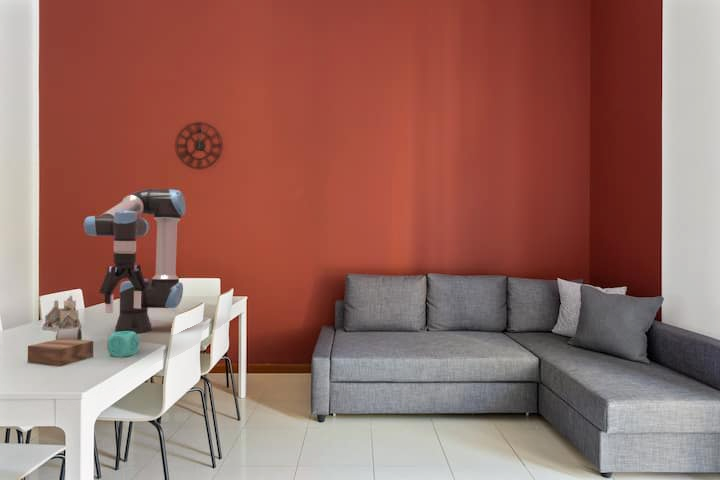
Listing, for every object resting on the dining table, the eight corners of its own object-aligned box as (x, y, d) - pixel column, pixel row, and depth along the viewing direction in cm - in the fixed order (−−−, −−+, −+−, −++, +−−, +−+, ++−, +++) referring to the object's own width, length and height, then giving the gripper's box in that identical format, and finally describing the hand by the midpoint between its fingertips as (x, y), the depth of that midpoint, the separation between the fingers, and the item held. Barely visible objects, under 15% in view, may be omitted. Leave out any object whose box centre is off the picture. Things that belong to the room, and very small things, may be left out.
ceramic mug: (59, 345, 200) (59, 326, 200) (82, 344, 203) (82, 326, 202) (52, 351, 190) (52, 332, 190) (76, 350, 193) (76, 331, 193)
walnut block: (62, 354, 188) (62, 338, 188) (93, 357, 184) (93, 341, 184) (27, 363, 174) (27, 345, 174) (60, 367, 170) (60, 349, 170)
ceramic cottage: (45, 325, 239) (47, 294, 238) (84, 325, 244) (86, 294, 243) (35, 334, 225) (36, 300, 224) (77, 334, 230) (78, 301, 229)
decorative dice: (139, 352, 191) (139, 331, 191) (127, 357, 183) (128, 335, 183) (119, 351, 192) (119, 330, 192) (106, 356, 184) (107, 334, 184)
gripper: (141, 251, 200) (140, 305, 200) (89, 253, 177) (87, 314, 177) (156, 252, 198) (155, 307, 198) (106, 253, 174) (105, 315, 174)
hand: (123, 310), depth 187 cm, fingers open, 13 cm apart
